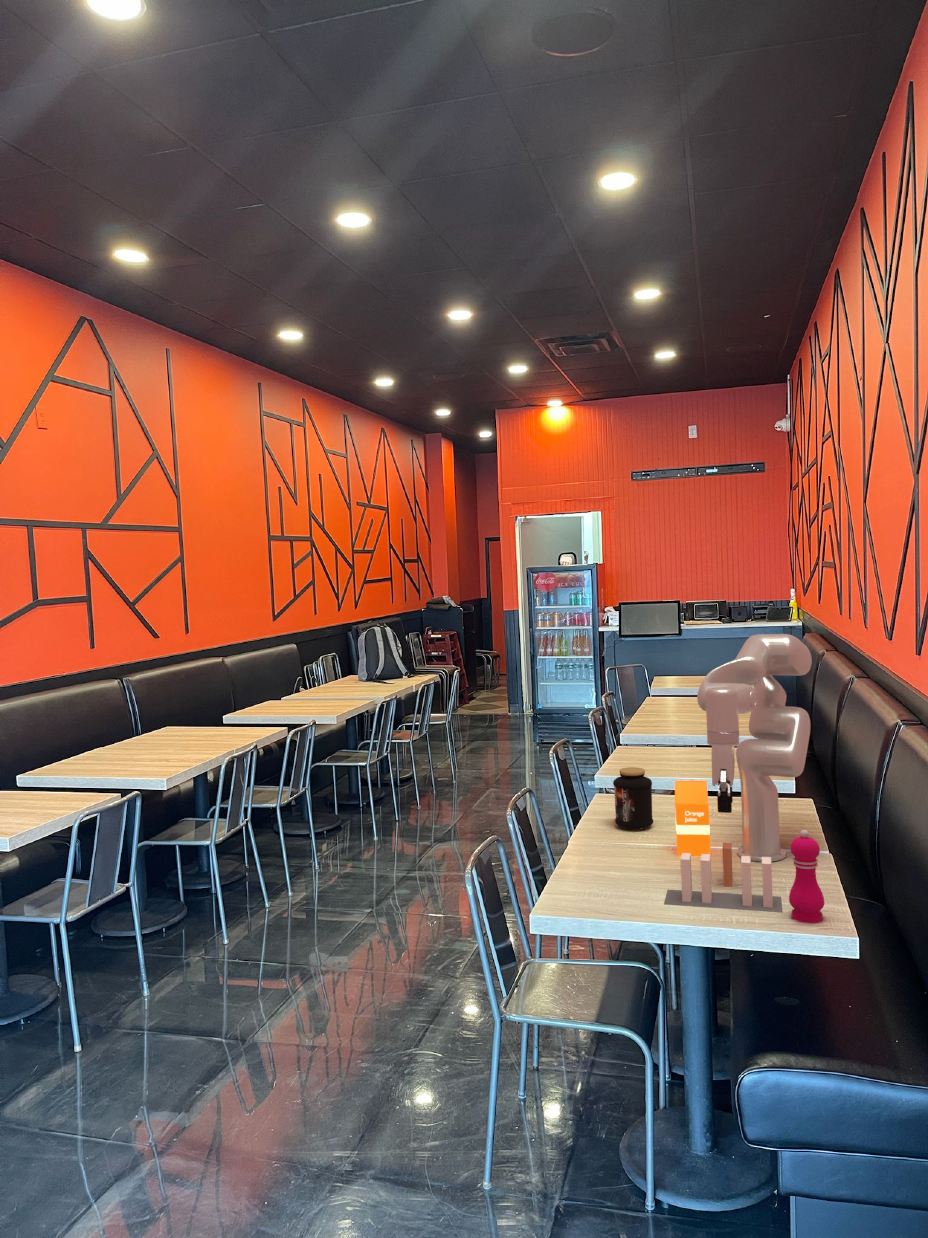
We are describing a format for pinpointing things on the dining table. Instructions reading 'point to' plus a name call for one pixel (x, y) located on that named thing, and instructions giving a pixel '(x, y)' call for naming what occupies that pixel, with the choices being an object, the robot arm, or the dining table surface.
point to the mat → (723, 901)
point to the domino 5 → (767, 882)
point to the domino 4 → (746, 880)
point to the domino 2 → (706, 878)
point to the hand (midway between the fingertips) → (725, 807)
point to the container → (633, 799)
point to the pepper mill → (806, 880)
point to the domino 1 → (686, 877)
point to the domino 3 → (727, 865)
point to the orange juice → (692, 818)
